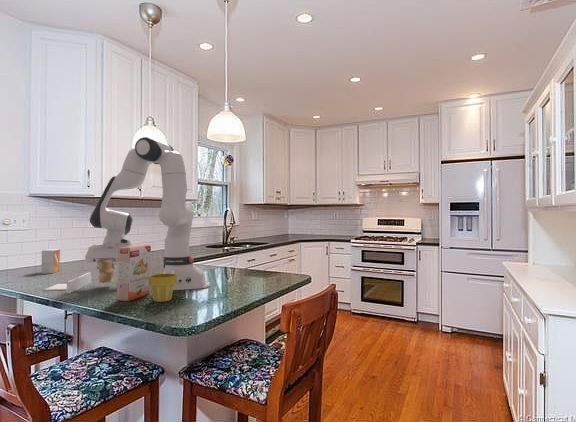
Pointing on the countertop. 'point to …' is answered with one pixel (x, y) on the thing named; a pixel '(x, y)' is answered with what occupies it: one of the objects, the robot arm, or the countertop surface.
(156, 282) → the plant pot
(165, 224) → the robot arm
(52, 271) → the small box
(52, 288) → the pad
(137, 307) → the countertop surface
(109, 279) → the maple block
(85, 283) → the low wall
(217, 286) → the countertop surface
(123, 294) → the cracker box
